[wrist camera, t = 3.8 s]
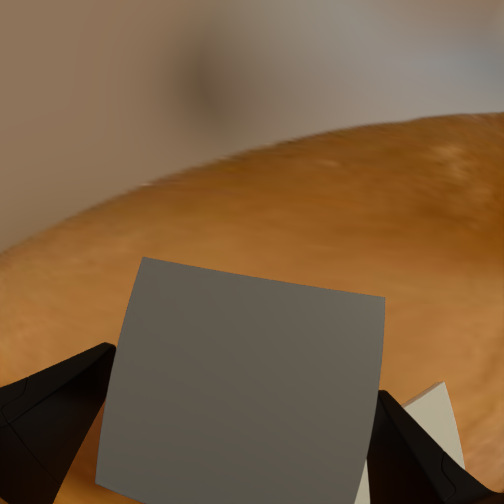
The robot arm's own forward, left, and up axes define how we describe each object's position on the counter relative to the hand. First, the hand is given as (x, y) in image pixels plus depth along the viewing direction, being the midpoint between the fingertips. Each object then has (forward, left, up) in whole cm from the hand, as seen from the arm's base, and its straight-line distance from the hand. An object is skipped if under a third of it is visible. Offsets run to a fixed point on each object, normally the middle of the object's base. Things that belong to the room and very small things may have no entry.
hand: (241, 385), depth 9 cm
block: (0, 0, -8) cm, 8 cm away
